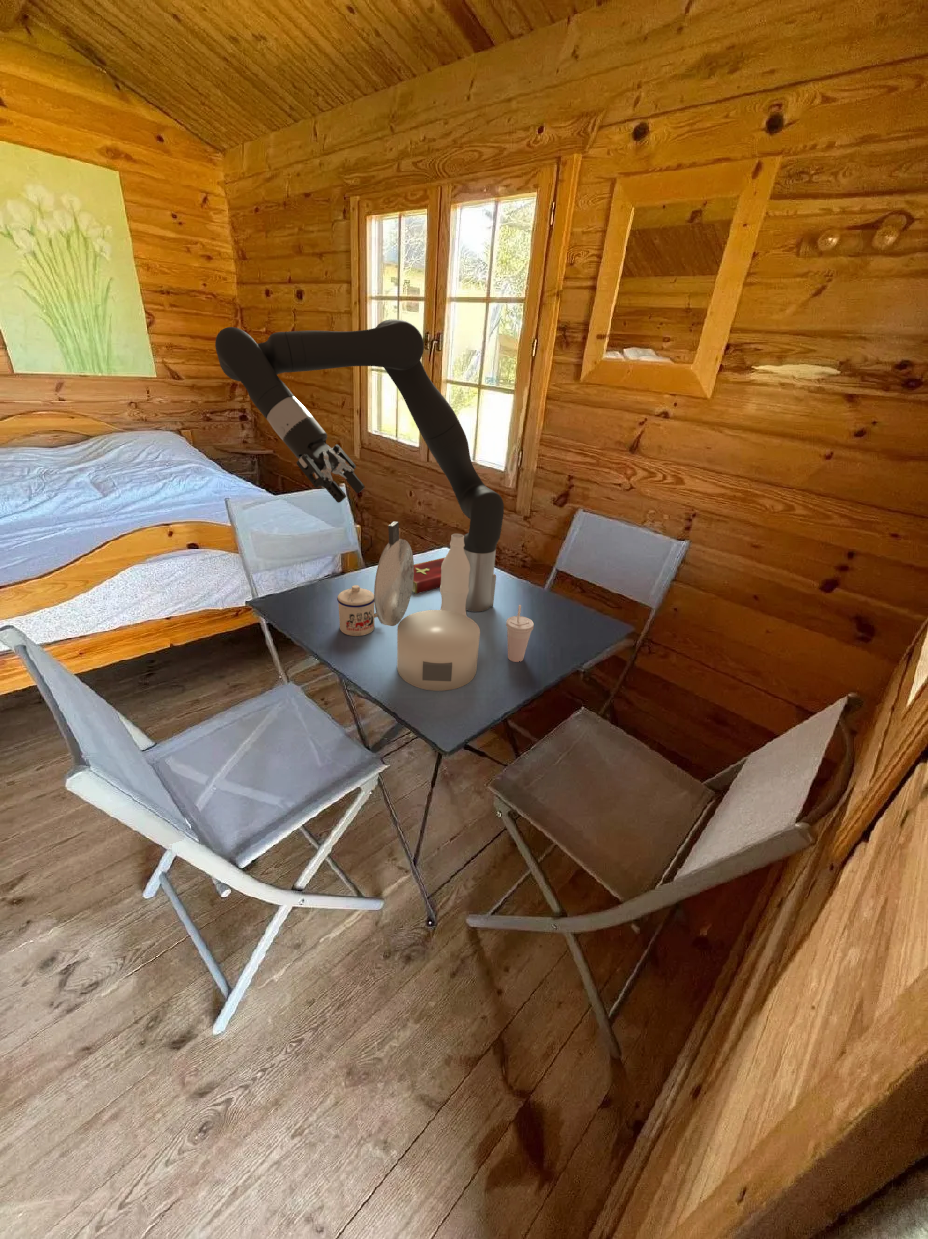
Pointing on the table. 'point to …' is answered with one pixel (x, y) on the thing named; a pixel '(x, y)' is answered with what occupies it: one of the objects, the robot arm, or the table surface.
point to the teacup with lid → (356, 611)
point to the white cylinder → (437, 649)
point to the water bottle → (455, 577)
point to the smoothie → (518, 636)
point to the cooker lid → (394, 579)
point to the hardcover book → (427, 576)
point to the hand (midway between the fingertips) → (352, 495)
